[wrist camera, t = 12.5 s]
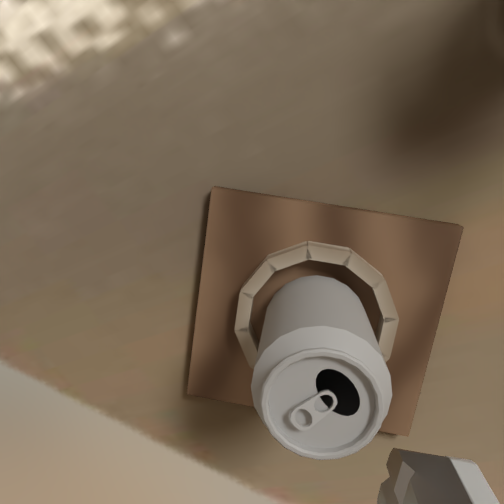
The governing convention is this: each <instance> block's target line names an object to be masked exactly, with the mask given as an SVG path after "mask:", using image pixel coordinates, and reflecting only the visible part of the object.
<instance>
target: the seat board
mask: <svg viewBox="0 0 504 504" xmlns="http://www.w3.org/2000/svg"><path fill="white" fill-rule="evenodd" d="M463 228H464V227H462V226H460V225H458V224H453V223H446V222H440V221H434V220H427V219H421V218H414V217H408V216H402V215H395V214H389V213H383V212H376V211H370V210H363V209H357V208H351V207H344V206H338V205H331V204H325V203H319V202H312V201H306V200H300V199H293V198H287V197H280V196H274V195H268V194H261V193H255V192H248V191H242V190H236V189H229V188H223V187H216V186H214V187H212V190H211V198H210V206H209V214H208V223H207V231H206V239H205V247H204V256H203V264H202V272H201V280H200V289H199V297H198V305H197V313H196V322H195V330H194V338H193V346H192V355H191V363H190V371H189V379H188V388H187V394H188V395H194V396H199V397H204V398H209V399H214V400H220V401H225V402H230V403H235V404H241V405H246V406H251V407H254V403H253V397H252V391H251V383H252V378H253V372H254V367H255V362H256V357H257V353H258V348H259V343H260V339H261V334H262V329H263V325H264V320H265V315H266V311H267V307H268V305H269V303H270V301H271V300H272V298H273V296H274V294H275V293H276V292H277V291H279V290H280V289H281V288H282V287H283V286H284V285H285V284H287V283H289V282H291V281H293V280H295V279H298V278H300V277H306V276H315V275H318V276H324V277H329V278H334V279H336V280H337V281H339V282H341V283H343V284H345V285H347V286H348V287H349V288H350V289H351V290H352V291H353V292H354V293H355V294H356V295H357V296H358V297H359V299H360V301H361V303H362V305H363V308H364V310H365V312H366V314H367V317H368V319H369V322H370V325H371V327H372V330H373V332H374V335H375V337H376V340H377V342H378V345H379V347H380V350H381V352H382V355H383V358H384V360H385V363H386V365H387V368H388V370H389V373H390V376H391V386H392V399H391V403H390V406H389V410H388V414H387V416H386V417H385V419H384V420H383V422H382V424H381V428H380V429H379V430H378V431H382V432H387V433H392V434H397V435H403V436H409V433H410V429H411V425H412V421H413V418H414V414H415V410H416V406H417V402H418V399H419V395H420V391H421V387H422V383H423V380H424V376H425V372H426V368H427V364H428V361H429V357H430V353H431V349H432V345H433V342H434V338H435V334H436V330H437V326H438V323H439V319H440V315H441V311H442V308H443V304H444V300H445V296H446V292H447V289H448V285H449V281H450V277H451V273H452V270H453V266H454V262H455V258H456V254H457V251H458V247H459V243H460V239H461V235H462V232H463Z"/></svg>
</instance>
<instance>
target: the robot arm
mask: <svg viewBox="0 0 504 504" xmlns="http://www.w3.org/2000/svg"><path fill="white" fill-rule="evenodd" d="M386 465H387V469H388V472H389V476H390V477H389V478H388V479H387V480H385V481H384V482H383V483H381V486H380V490H379V494H378V499H377V504H500V503H499V502H498V500H497V498H496V497H495V495H494V493H493V491H492V490H491V488H490V486H489V485H488V483H487V481H486V479H485V478H484V476H483V474H482V473H481V471H480V469H479V467H478V466H477V464H476V463H474V462H473V461H472V460H469V459H462V458H456V457H449V456H438V455H432V454H426V453H420V452H415V451H409V450H403V449H397V448H393V449H392V451H391V453H390V454H389V458H388V461H387V464H386Z"/></svg>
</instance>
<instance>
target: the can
mask: <svg viewBox="0 0 504 504" xmlns="http://www.w3.org/2000/svg"><path fill="white" fill-rule="evenodd" d="M251 391H252V397H253V403H254V407H255V409H256V411H257V413H258V414H259V416H260V418H261V420H262V422H263V424H264V425H265V426H266V427H267V428H268V430H269V432H270V434H271V435H272V436H273V437H274V438H275V439H276V440H277V441H278V442H279V443H280V444H281V445H282V446H283V447H284V448H286V449H288V450H290V451H292V452H294V453H296V454H298V455H300V456H303V457H308V458H312V459H317V460H327V459H339V458H342V457H345V456H348V455H351V454H353V453H356V452H357V451H359V450H360V449H361V448H363V447H364V446H366V445H367V444H368V443H370V442H371V440H372V439H373V438H374V436H375V435H376V433H377V432H378V430H379V429H380V428H381V424H382V422H383V420H384V419H385V417H386V416H387V414H388V410H389V406H390V403H391V399H392V386H391V376H390V373H389V370H388V368H387V365H386V363H385V360H384V358H383V355H382V352H381V350H380V347H379V345H378V342H377V340H376V337H375V335H374V332H373V330H372V327H371V325H370V322H369V319H368V317H367V314H366V312H365V310H364V308H363V305H362V303H361V301H360V299H359V297H358V296H357V295H356V294H355V293H354V292H353V291H352V290H351V289H350V288H349V287H348V286H347V285H345V284H343V283H341V282H339V281H337V280H336V279H334V278H329V277H324V276H318V275H315V276H306V277H300V278H298V279H295V280H293V281H291V282H289V283H287V284H285V285H284V286H283V287H282V288H281V289H280V290H279V291H277V292H276V293H275V294H274V296H273V298H272V300H271V301H270V303H269V305H268V307H267V311H266V315H265V320H264V325H263V329H262V334H261V339H260V343H259V348H258V353H257V357H256V362H255V367H254V372H253V378H252V383H251Z"/></svg>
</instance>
